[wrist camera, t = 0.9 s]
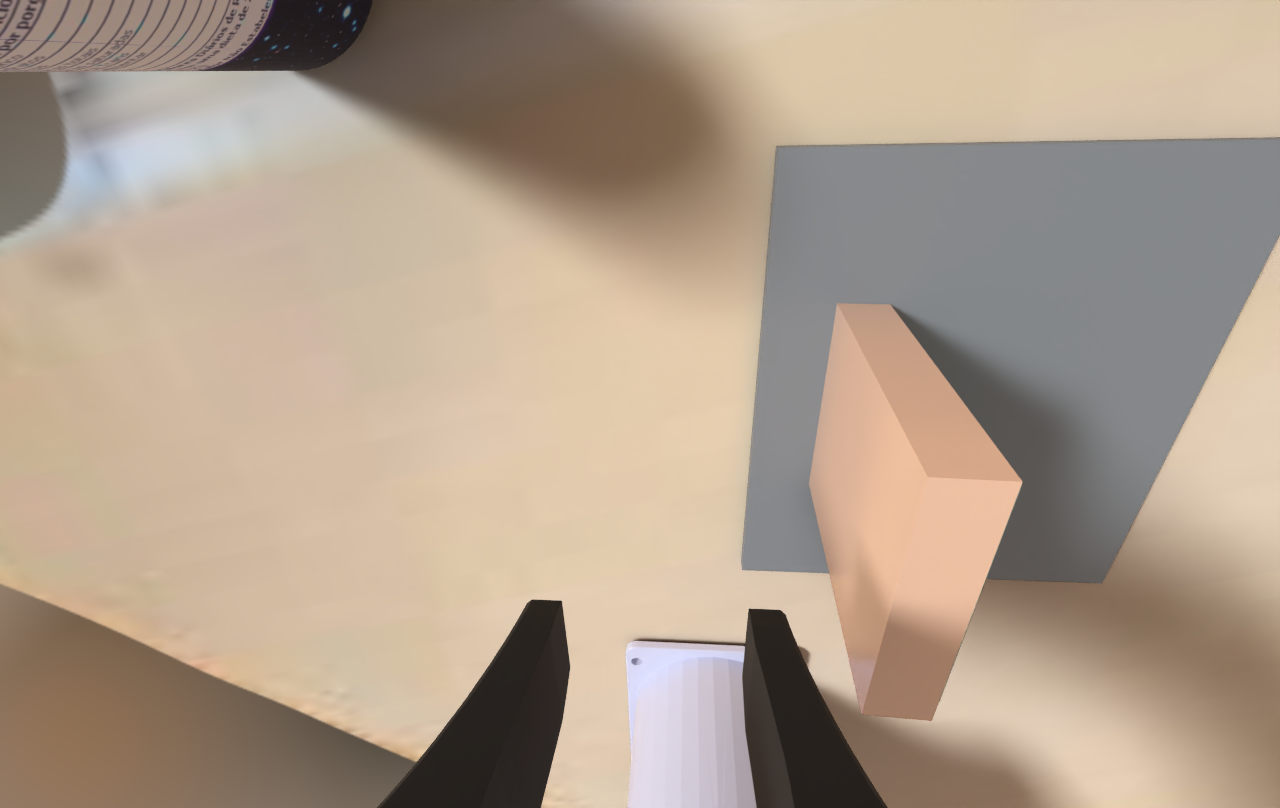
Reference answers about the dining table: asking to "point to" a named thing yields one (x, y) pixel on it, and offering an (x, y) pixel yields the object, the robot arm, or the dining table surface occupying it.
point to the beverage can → (176, 34)
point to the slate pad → (1013, 316)
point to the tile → (902, 510)
